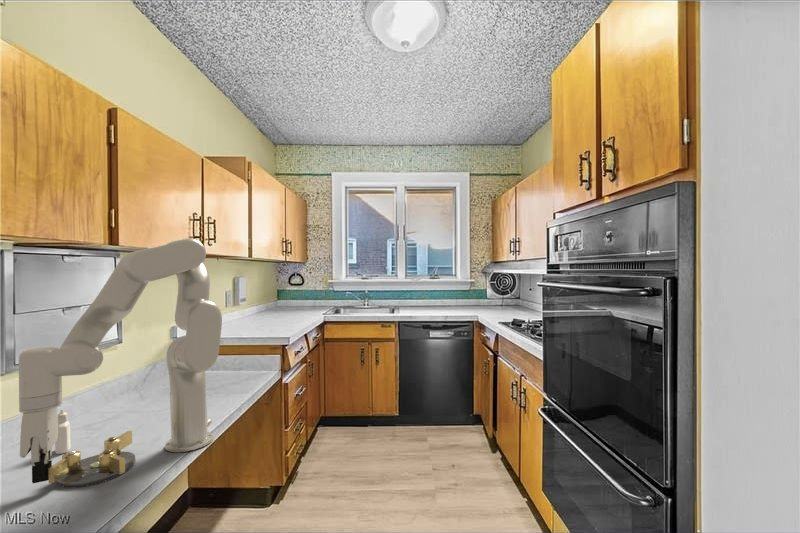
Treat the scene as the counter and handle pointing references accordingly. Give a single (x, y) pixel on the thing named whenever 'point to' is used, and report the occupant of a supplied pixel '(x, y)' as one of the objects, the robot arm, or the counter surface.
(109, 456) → the knob
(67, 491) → the counter surface
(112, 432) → the counter surface
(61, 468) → the knob
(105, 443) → the knob
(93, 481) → the base
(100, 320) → the robot arm
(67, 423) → the eye dropper bottle
